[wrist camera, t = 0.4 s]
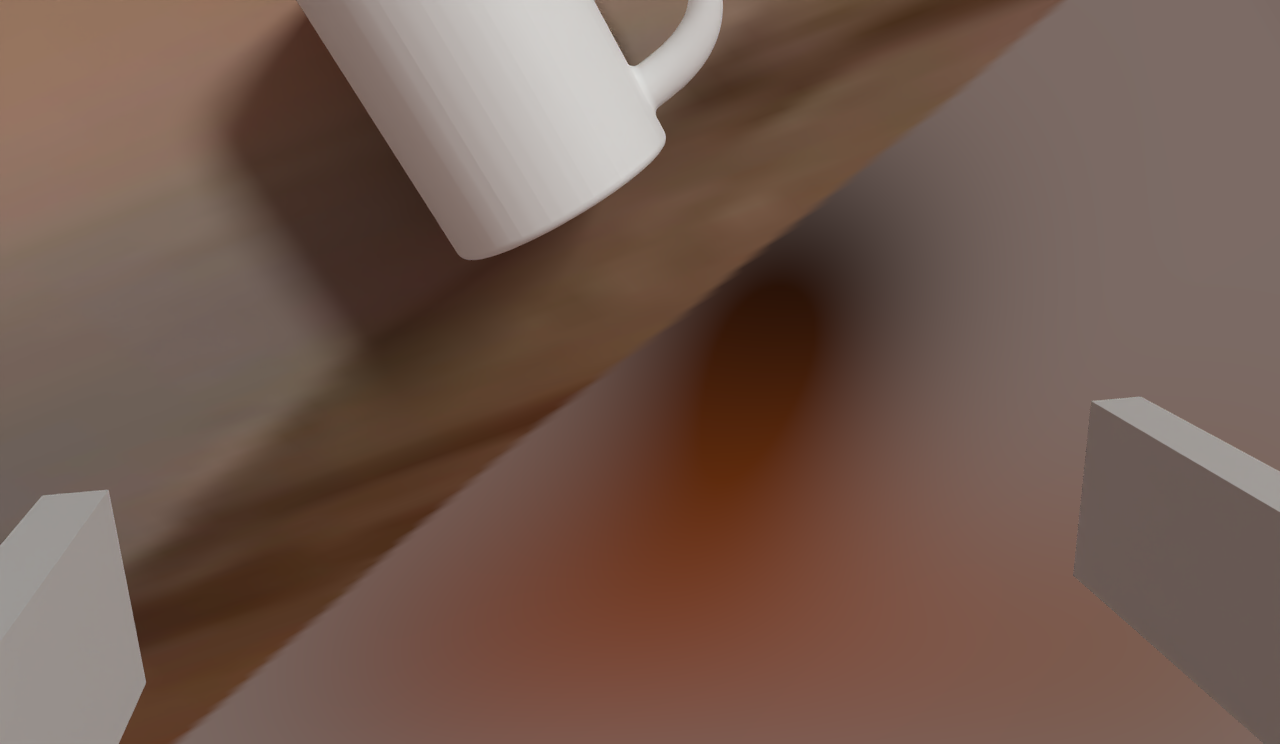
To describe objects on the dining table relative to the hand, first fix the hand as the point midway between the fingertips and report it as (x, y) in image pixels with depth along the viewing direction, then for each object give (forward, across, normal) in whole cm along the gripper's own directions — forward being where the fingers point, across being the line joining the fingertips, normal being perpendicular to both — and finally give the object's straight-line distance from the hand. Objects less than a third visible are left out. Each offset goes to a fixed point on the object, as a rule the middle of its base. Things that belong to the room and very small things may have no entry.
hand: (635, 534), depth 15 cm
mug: (+28, +1, +6) cm, 29 cm away
